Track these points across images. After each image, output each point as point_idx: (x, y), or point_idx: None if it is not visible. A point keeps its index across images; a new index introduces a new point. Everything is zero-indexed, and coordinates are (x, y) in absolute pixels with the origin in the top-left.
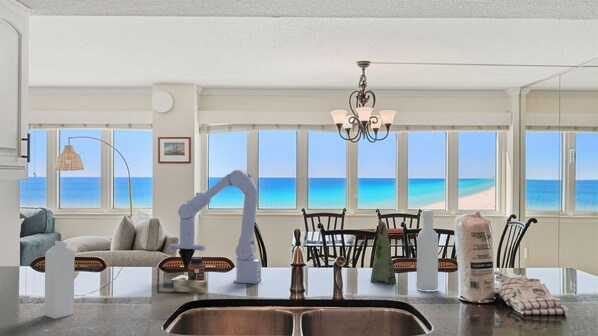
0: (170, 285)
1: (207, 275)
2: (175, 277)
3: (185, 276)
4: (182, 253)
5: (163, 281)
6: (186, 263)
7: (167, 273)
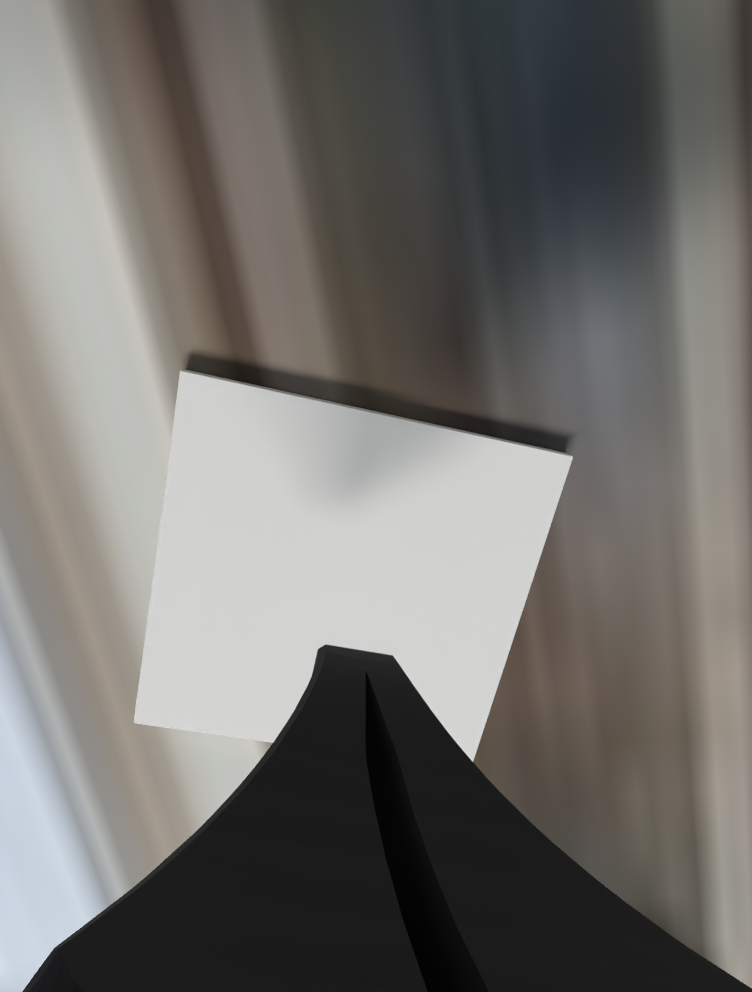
0: (529, 35)
1: (82, 827)
2: (522, 605)
3: None
4: (563, 974)
5: (680, 384)
6: (334, 695)
7: (661, 879)
